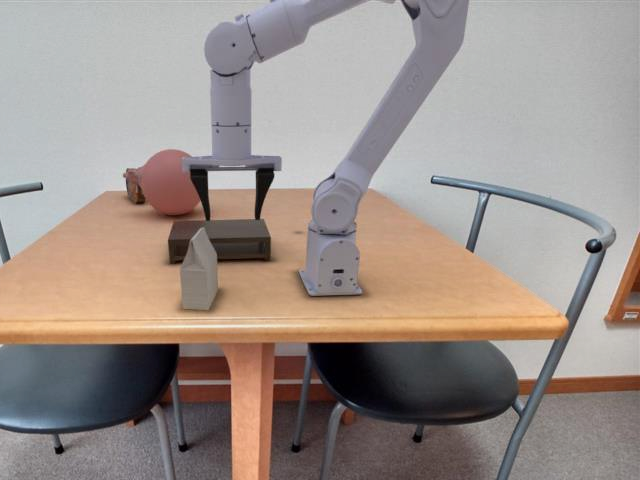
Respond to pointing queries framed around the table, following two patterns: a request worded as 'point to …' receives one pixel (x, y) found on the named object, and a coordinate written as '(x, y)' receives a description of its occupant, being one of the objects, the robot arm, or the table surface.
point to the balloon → (166, 183)
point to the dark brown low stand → (223, 238)
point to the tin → (134, 191)
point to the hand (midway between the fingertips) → (232, 218)
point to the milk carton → (199, 273)
